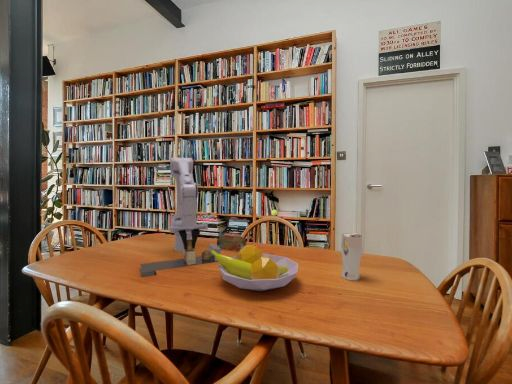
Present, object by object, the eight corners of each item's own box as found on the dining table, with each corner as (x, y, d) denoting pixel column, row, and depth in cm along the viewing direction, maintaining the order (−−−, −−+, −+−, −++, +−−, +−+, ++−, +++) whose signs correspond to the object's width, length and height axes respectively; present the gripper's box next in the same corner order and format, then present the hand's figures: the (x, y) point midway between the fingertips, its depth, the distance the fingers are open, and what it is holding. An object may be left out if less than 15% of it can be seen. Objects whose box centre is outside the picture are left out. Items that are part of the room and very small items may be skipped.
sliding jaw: (183, 259, 109) (183, 238, 108) (191, 258, 110) (190, 237, 110) (187, 265, 102) (187, 242, 101) (195, 263, 103) (195, 242, 102)
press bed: (140, 267, 103) (140, 251, 102) (215, 257, 116) (215, 243, 115) (142, 276, 94) (141, 258, 93) (223, 264, 107) (223, 248, 106)
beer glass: (351, 282, 89) (352, 238, 89) (336, 275, 96) (337, 234, 95) (365, 279, 93) (366, 236, 92) (350, 272, 99) (351, 232, 98)
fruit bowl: (299, 271, 100) (299, 241, 100) (294, 305, 74) (295, 264, 73) (228, 265, 106) (227, 237, 105) (199, 295, 79) (199, 257, 79)
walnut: (200, 258, 110) (200, 249, 109) (209, 257, 111) (209, 248, 111) (203, 261, 106) (203, 251, 106) (212, 259, 108) (211, 250, 108)
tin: (216, 251, 125) (216, 234, 125) (220, 250, 128) (220, 232, 128) (244, 256, 118) (244, 237, 118) (247, 254, 121) (247, 236, 121)
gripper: (171, 217, 98) (171, 253, 99) (209, 214, 104) (210, 249, 105) (168, 214, 104) (169, 248, 105) (205, 212, 111) (205, 244, 111)
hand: (189, 248), depth 106 cm, fingers closed on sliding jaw, 2 cm apart
